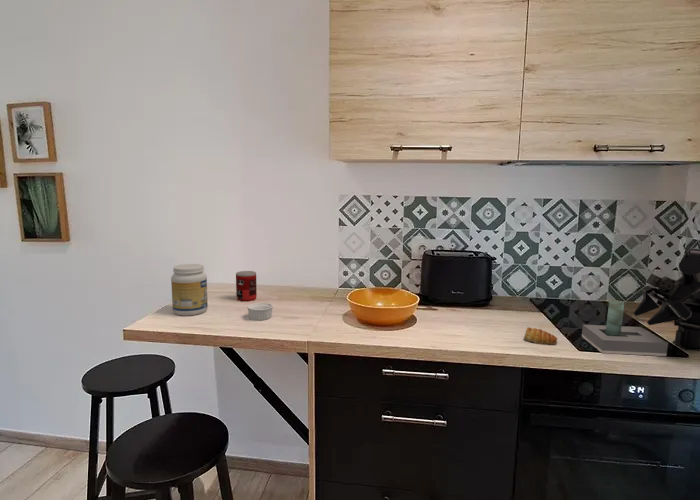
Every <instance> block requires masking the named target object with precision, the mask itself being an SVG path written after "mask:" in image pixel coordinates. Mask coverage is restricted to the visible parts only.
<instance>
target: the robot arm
mask: <svg viewBox="0 0 700 500" xmlns="http://www.w3.org/2000/svg"><path fill="white" fill-rule="evenodd" d="M678 269H679V272H680V275H681V276H680V277H679V278H678V279H672V278H670V277H668V276H663V277H660V276H658V275H657V274H654V273H650V275H649V276H648V278H647V279H646V281H645V283H647V284H648V285H645V287H643V288H642V292H641V293H642V296H643V297H642V300H641V302H640V303H639V304H638V306H637V307H636V309H635V310H634V312H633V315H634V316H635V317H637V316H638V317H639V316H640V315H643V314H646V313H648V312H651V311H653V310H656V309H659V308H660V306H661V308H660V310H658V311H657V312H656V313H654V315H653V316H652V317H651V318H649V319H648V321H646V323H647V325H648V326H652V325H658V324H663V323H669V322H673V321H674V322H673V323H674V324H673V325H674V326H676V327H677V330H676V332H675V336H674V340H672V343H673V344H675V345H677V346H679V347H680V348H682V349H684V350H687V351H688V350H689V351H692V350H693V351H700V248H694V247H690V248H689V249H688V251H685V253H684V255H683V256H682V258H681V259H680V261H679V263H678Z"/></svg>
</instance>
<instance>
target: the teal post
mask: <svg viewBox="0 0 700 500" xmlns="http://www.w3.org/2000/svg"><path fill="white" fill-rule="evenodd" d="M624 308H625V302H624V301H621V300H615V299H610V300H609V301H608V308H607V315H606V316H607V317H606V325H605V326H606V333H605V334H606V335H607V336H620V335H621V327H622V326H623V317H624Z"/></svg>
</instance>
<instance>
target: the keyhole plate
mask: <svg viewBox="0 0 700 500" xmlns="http://www.w3.org/2000/svg"><path fill="white" fill-rule="evenodd" d="M605 333H606V325H601V324H599V325H598V324H582V330H581V337H582V338H583V340H585V341H587V342H588V343H589V344H590V345H591V346H593V348H595V349H597V351H599V352H600V353H601V354H610V355H612V354H613V355H633V356H637V355H638V356H654V357H655V356H657V357H667V354H668V347H669V343H668V342H667V341H665V340H664V339H662V338H660V337H659V336H657V335H655V334H653V333H652V332H651V331H648V330H647V329H645V328H643V327H642V326H626V325H625V326H623V325H622V327H621V335H620V336H607V335H606V334H605Z"/></svg>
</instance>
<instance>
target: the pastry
mask: <svg viewBox="0 0 700 500" xmlns="http://www.w3.org/2000/svg"><path fill="white" fill-rule="evenodd" d="M523 338H524V340H526V341H527V342H529V343H532V342H533V343H535V344H540V345H546V346H547V345H548V346H550V345H553V346H554V345H556V344H557V343H558V338H557V336H555V335H554V334H551V333H550V332H548V331H545V330H542V329H541V328H538V329H537V327H533V328H531V327H527V328H526V329H525V333H524V336H523Z"/></svg>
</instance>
